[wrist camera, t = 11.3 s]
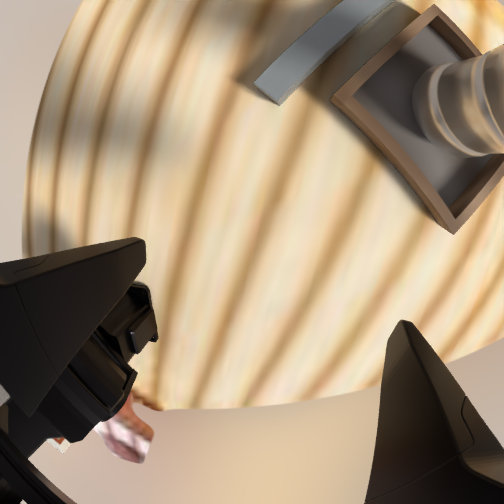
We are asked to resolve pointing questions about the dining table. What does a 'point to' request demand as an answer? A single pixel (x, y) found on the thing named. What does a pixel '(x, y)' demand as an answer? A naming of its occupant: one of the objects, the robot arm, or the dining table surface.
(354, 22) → the door edge strip
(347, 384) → the dining table surface
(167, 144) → the dining table surface
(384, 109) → the brown square tray
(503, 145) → the plastic bottle
